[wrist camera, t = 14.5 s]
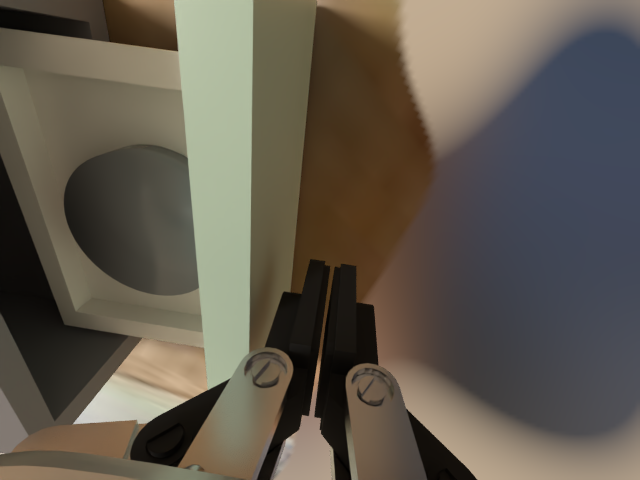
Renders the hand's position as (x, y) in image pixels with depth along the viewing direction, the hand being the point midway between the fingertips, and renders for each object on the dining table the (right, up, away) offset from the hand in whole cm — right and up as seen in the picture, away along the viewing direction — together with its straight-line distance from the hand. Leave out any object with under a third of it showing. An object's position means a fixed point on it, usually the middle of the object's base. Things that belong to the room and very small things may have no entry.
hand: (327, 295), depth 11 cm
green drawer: (-8, +4, +5) cm, 11 cm away
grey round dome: (-8, +3, +4) cm, 9 cm away
